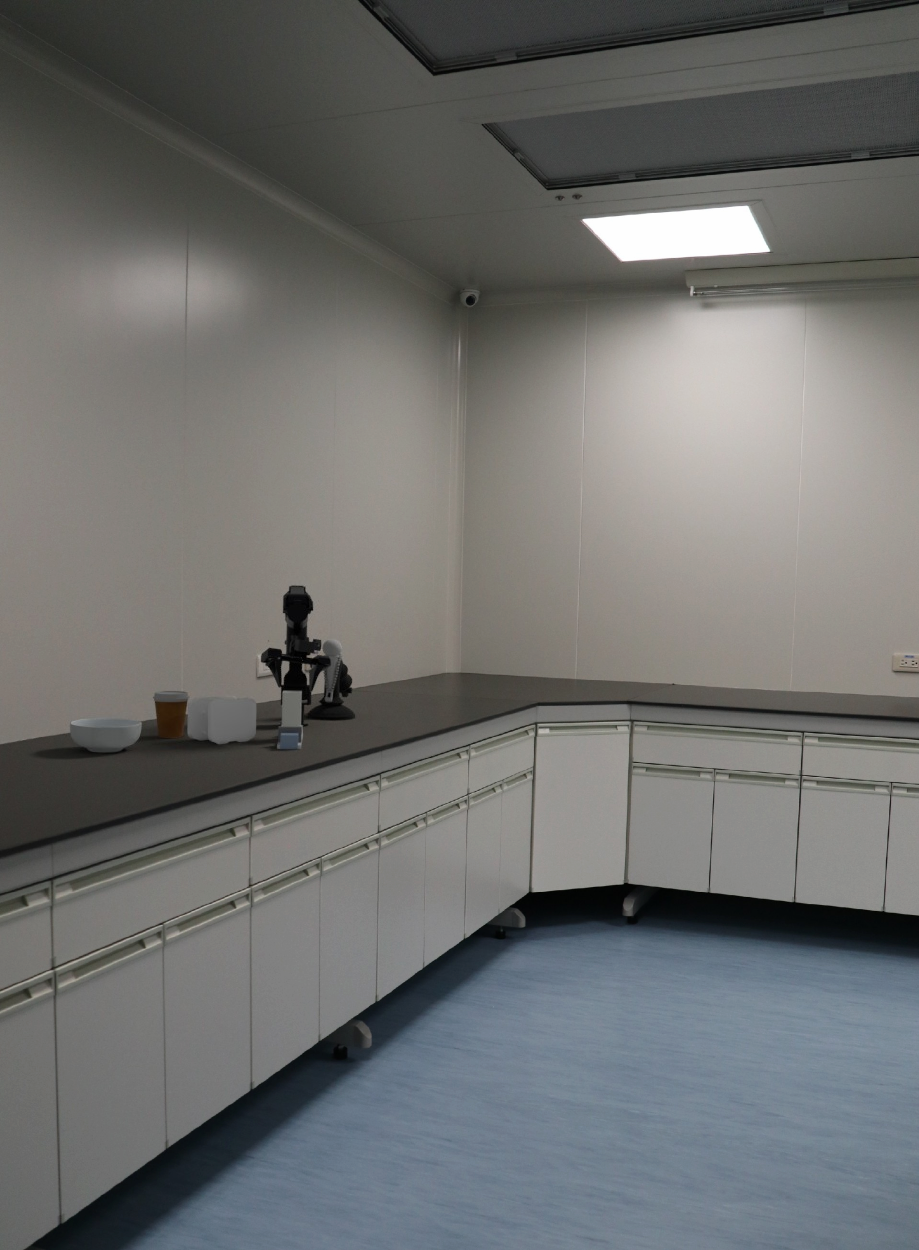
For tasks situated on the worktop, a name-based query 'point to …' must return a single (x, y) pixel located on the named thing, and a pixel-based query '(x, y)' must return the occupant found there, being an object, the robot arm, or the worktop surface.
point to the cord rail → (290, 737)
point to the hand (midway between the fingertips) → (295, 689)
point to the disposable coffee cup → (170, 712)
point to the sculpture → (334, 687)
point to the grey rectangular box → (291, 708)
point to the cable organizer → (222, 719)
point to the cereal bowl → (105, 733)
